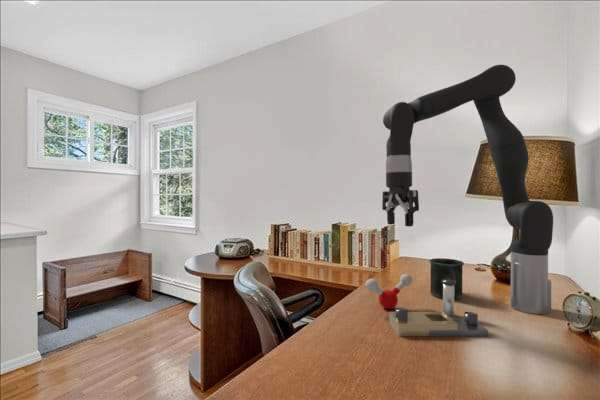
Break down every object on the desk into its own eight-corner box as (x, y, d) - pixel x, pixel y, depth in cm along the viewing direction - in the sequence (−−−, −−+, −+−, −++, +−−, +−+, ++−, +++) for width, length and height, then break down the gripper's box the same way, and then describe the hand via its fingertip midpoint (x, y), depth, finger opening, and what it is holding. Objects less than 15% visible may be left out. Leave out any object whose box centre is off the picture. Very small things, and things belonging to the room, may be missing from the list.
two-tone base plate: (470, 323, 84) (470, 304, 84) (488, 336, 76) (488, 315, 76) (389, 322, 84) (389, 304, 84) (398, 335, 76) (398, 315, 76)
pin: (451, 312, 92) (451, 278, 92) (457, 317, 88) (458, 282, 88) (439, 312, 92) (439, 278, 92) (445, 317, 88) (445, 282, 88)
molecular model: (376, 317, 87) (376, 282, 87) (361, 311, 92) (361, 278, 92) (414, 305, 97) (414, 274, 97) (399, 300, 102) (399, 270, 102)
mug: (423, 295, 108) (423, 260, 108) (442, 287, 118) (442, 255, 118) (455, 303, 100) (455, 266, 100) (472, 294, 110) (473, 260, 109)
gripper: (425, 169, 88) (426, 226, 88) (394, 173, 101) (395, 223, 101) (403, 169, 85) (404, 227, 85) (374, 173, 99) (375, 224, 99)
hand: (399, 225), depth 93 cm, fingers open, 8 cm apart
